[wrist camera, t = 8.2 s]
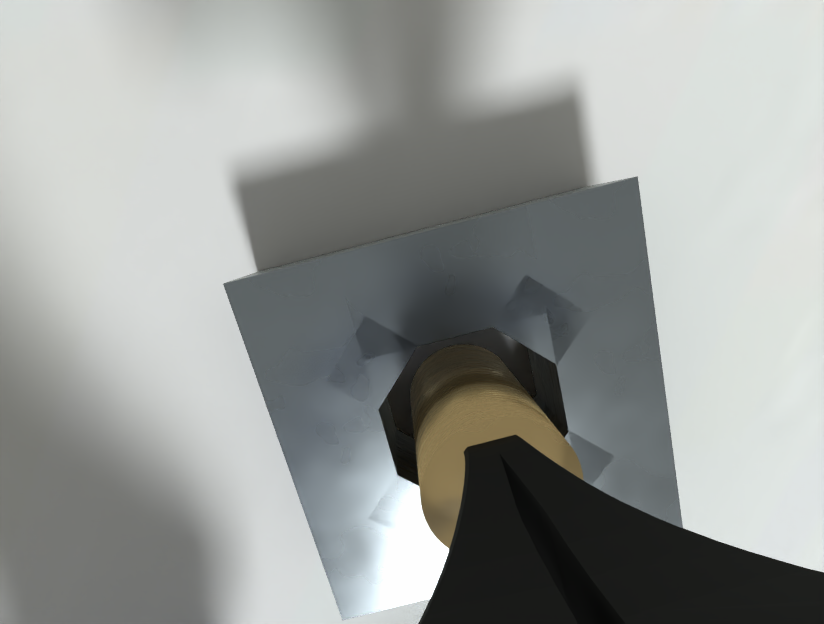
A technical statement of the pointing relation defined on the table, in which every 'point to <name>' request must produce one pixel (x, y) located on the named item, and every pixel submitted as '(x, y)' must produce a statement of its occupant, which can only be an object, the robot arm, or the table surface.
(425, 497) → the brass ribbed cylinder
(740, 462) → the table surface
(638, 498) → the plate
